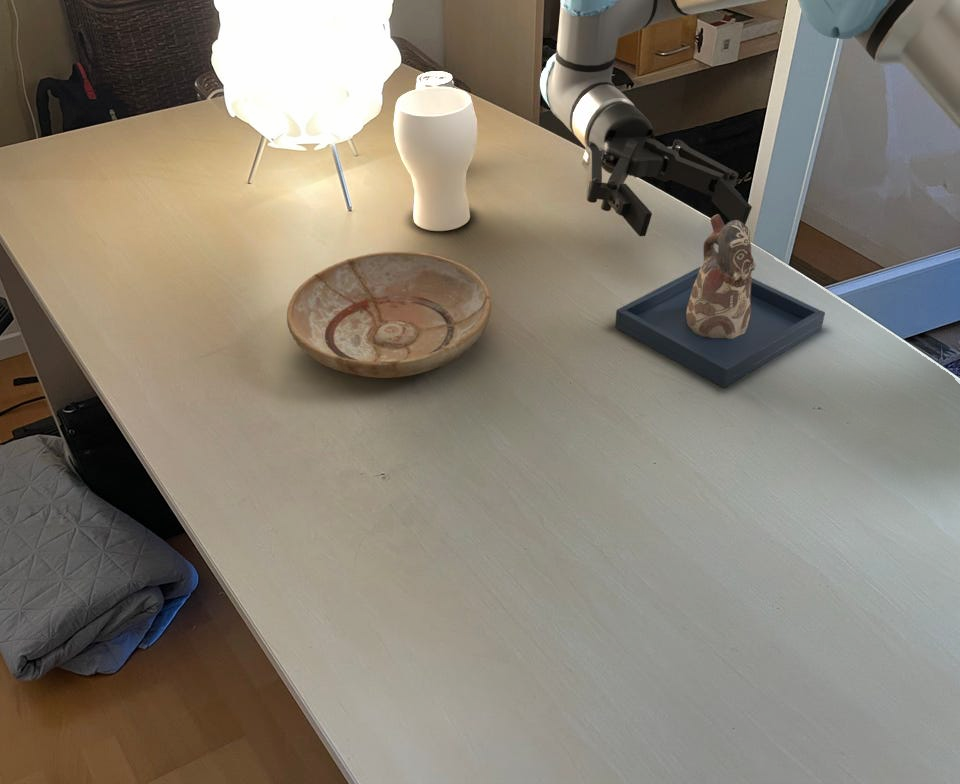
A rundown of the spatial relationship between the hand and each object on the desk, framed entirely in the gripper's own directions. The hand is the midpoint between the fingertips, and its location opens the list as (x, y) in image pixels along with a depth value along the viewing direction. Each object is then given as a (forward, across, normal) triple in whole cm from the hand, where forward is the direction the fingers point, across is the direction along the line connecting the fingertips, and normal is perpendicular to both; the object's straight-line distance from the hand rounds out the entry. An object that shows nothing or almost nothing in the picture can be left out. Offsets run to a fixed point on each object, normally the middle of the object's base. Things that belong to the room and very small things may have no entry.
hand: (696, 221), depth 113 cm
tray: (+9, 0, -8) cm, 12 cm away
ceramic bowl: (-5, +34, -16) cm, 37 cm away
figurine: (+9, 0, -7) cm, 12 cm away
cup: (-30, +18, -16) cm, 39 cm away
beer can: (-46, +12, -17) cm, 50 cm away
